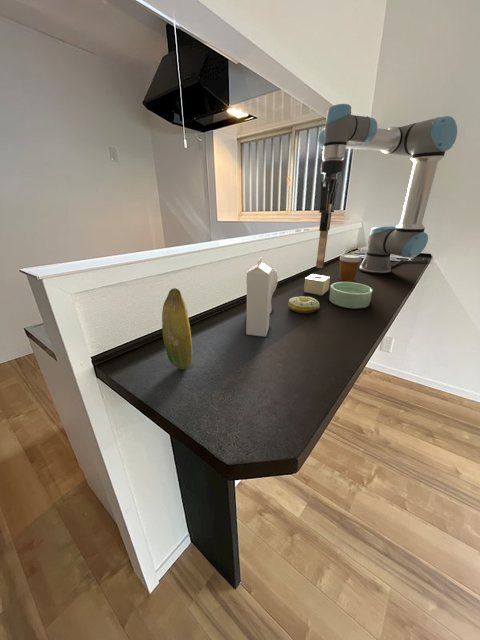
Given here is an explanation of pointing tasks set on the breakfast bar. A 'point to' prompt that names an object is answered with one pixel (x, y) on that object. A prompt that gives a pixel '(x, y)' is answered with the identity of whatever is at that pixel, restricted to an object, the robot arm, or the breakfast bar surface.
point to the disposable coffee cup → (349, 267)
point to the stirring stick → (322, 244)
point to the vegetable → (177, 330)
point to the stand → (316, 284)
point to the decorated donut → (303, 304)
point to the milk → (258, 299)
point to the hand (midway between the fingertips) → (324, 230)
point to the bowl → (350, 294)
